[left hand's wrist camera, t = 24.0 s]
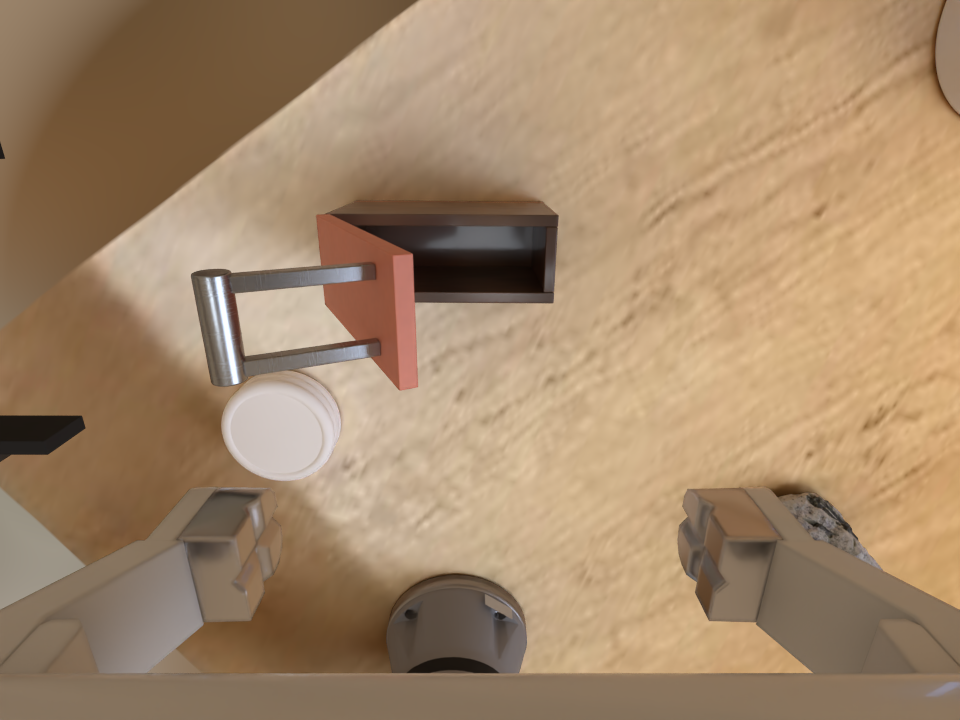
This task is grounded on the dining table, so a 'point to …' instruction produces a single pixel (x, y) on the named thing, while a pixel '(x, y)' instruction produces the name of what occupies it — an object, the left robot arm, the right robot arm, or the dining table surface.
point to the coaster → (281, 425)
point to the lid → (348, 294)
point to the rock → (825, 523)
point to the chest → (468, 247)
